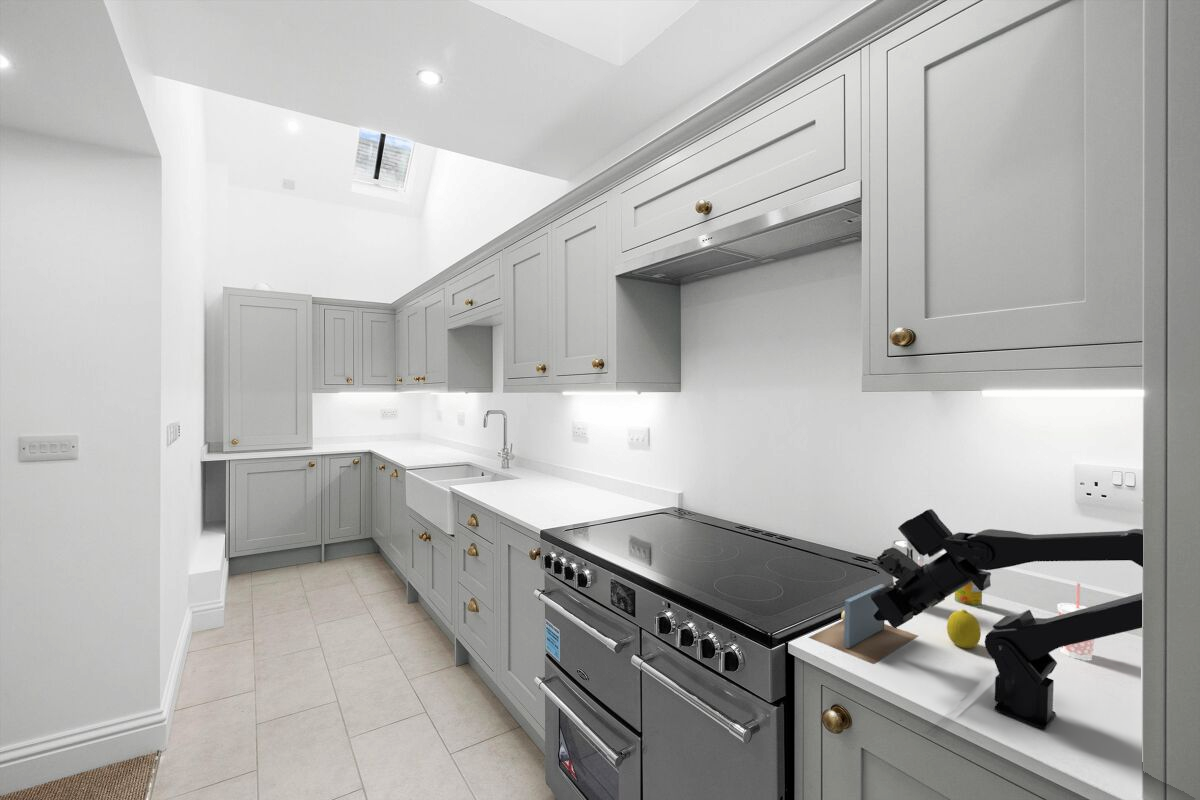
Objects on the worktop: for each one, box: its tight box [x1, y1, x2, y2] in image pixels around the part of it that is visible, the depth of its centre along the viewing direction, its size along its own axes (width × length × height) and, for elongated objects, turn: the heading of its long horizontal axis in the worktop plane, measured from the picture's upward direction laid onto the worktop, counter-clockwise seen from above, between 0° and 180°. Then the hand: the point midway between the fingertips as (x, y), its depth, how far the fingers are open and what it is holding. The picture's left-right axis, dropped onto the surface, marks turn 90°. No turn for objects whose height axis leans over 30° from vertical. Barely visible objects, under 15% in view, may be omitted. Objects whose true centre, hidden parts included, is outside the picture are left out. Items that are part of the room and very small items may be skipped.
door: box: [840, 583, 886, 648], centre depth 110 cm, size 2×15×9 cm, turn 128°
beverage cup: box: [1056, 582, 1095, 661], centre depth 106 cm, size 6×6×14 cm
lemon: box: [946, 609, 982, 649], centre depth 107 cm, size 6×6×8 cm
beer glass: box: [891, 539, 926, 586], centre depth 128 cm, size 7×7×15 cm
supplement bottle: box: [954, 582, 983, 609], centre depth 130 cm, size 5×5×10 cm
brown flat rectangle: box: [808, 620, 919, 665], centre depth 110 cm, size 13×19×1 cm
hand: (875, 617), depth 105 cm, fingers closed
